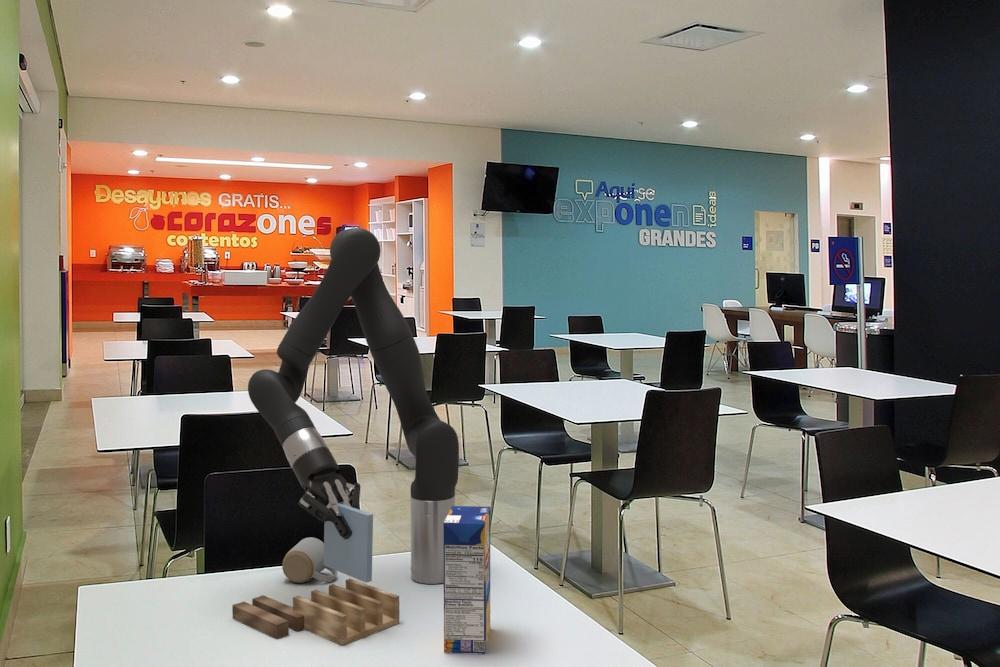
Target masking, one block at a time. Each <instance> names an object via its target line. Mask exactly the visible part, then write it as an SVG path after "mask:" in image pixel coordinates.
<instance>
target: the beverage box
mask: <svg viewBox="0 0 1000 667" xmlns="http://www.w3.org/2000/svg"><path fill="white" fill-rule="evenodd" d="M490 631H491V506H479V505H478V506H477V505H476V506H473V505H472V506H471V505H467V506H466V505H455V506H452V507H451V509H450V511H449V513H448V515H447V517H446V519H445V521H444V583H443V653H444V652H448V653H447V654H462V653H482V654H481V655H485V654H486V651H487V645H488V642H487V641H488V640H489V637H488V636H490ZM485 650H486V651H485ZM450 652H452V653H450ZM484 653H485V654H484Z"/></svg>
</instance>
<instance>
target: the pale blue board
mask: <svg viewBox="0 0 1000 667" xmlns="http://www.w3.org/2000/svg"><path fill="white" fill-rule="evenodd" d="M338 507H339V509H340V510H341V512H342V515H341V516H344V518H345V520H346V522H347V524H348V525H349V527H350V529H351V531H352V535H351V536H350V537H349V538H348V539H343V537H341V536H340V535H339V533H338V531H337V529H336V527H335V525H334V524H333V523H331V522H330V521H326V522H323V524H324V526H323V529H324V530H323V534H324V535H323V543H324V566H327V567H329V568H332V569H334V570H336V571H337V572H340V573H341V574H344V575H346V576H349V577H351V578H354V579H356V580H357V581H358V580H359V581H360V582H362V583H365V584H367V583H370V582H372V581H373V580H372V579H373V578H372V577H373V541H374V540H373V539H374V538H373V536H374V531H373V530H374V514H373V513H371V512H367V511H365V510H362V509H359V508H358V509H356V508H353V507H350V506H347V505H344V504H341V503H338Z"/></svg>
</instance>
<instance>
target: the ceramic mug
mask: <svg viewBox="0 0 1000 667" xmlns="http://www.w3.org/2000/svg"><path fill="white" fill-rule="evenodd" d="M281 566H282V568H281V569H282V572H283V574H284V576H285V578H287V579H288V581H291V582H293V583H296V584H303V583H306V582H308V581H310V580H312V578H313V579H315V580H316V581H318V582H322V583H331V582H334V581H335V580H336V577H337V576H338V572H339V571H336V570H334V569H332V568H329V567H327V566H324V541H322V540H320V539H319V538H316V537H314V536H313V537H311V536H310V537H305V538H302V539H301V540H300V541H298V543H297V544H296V545H294V546H293V547H292V548H291V549H289V551H287V553H286V554H285V556H284V557H283V560H282V564H281ZM325 569H326V570H327V571H329V572H330V573H331V574H332V575H325V574H321V573H322V571H324V570H325ZM333 580H334V581H333Z"/></svg>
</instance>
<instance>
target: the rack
mask: <svg viewBox="0 0 1000 667" xmlns="http://www.w3.org/2000/svg"><path fill="white" fill-rule="evenodd" d="M310 596H311V597H310V598H311V599H307V598H305V597H302V596H299V595H296V596H293V597H292V607H293V611H295V612H297V613H300V614H302V615H304V629H303V630H305V631H308V632H310V633H312V634H315V635H317V636H319V637H321V638H324V639H326V640H329V641H330V642H333V643H335V644H338V645H340V646H342V647H343V646H345V645H348V644H350V643H354V642H356V641H359V640H361V639H363V638H365V637H368V636H370V634H371V635H373V634H375V632H376V633H377V631H378V632H381V631H383V630H385V629H384V628H386V627H388V628H390V627H389V626H391V625H393V626H395V625H394V624H396V625H398V624H400V595H397V594H394V593H392V592H389V591H386V590H384V589H380V588H378V587H375V586H372V585H370V584H367V583H365V582H362V581H358V580H355V579H352V578H347V579H345V587H342V586H339V585H336V584H334V583H332V584H329V585H328V593H325V592H322V591H320V590H317V589H314V590H311V591H310ZM397 623H398V624H397ZM391 627H392V626H391ZM382 629H383V630H382ZM386 629H387V628H386ZM380 630H381V631H380ZM372 633H373V634H372Z"/></svg>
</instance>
